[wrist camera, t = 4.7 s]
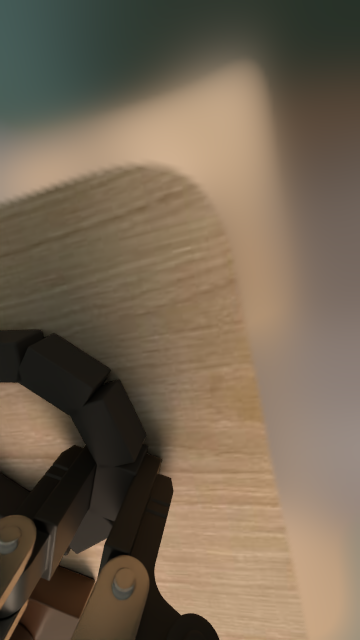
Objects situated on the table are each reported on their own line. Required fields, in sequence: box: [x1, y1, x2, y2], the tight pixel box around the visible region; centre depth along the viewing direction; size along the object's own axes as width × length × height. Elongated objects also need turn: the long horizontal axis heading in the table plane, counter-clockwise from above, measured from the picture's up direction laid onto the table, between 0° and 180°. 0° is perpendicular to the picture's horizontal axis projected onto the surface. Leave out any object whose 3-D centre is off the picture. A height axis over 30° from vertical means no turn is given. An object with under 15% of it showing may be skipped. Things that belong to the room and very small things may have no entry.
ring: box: [0, 330, 148, 555], centre depth 11 cm, size 9×9×1 cm
